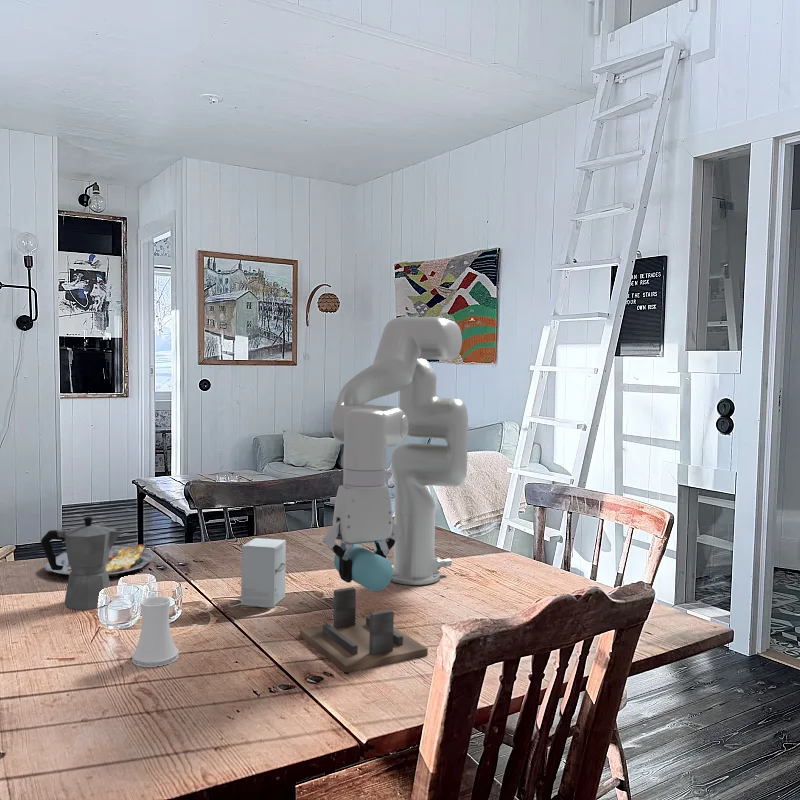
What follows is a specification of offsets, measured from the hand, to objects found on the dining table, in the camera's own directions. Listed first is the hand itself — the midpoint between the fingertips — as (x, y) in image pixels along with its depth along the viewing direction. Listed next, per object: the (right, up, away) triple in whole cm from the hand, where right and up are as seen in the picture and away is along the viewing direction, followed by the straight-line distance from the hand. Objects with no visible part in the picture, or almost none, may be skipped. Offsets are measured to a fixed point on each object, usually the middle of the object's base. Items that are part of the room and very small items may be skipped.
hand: (362, 577), depth 139 cm
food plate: (-65, -9, +47) cm, 81 cm away
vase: (-35, -13, -7) cm, 38 cm away
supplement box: (-22, -11, +24) cm, 34 cm away
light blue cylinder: (0, -1, 0) cm, 1 cm away
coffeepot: (-58, -10, +20) cm, 63 cm away
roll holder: (0, -12, +1) cm, 12 cm away
